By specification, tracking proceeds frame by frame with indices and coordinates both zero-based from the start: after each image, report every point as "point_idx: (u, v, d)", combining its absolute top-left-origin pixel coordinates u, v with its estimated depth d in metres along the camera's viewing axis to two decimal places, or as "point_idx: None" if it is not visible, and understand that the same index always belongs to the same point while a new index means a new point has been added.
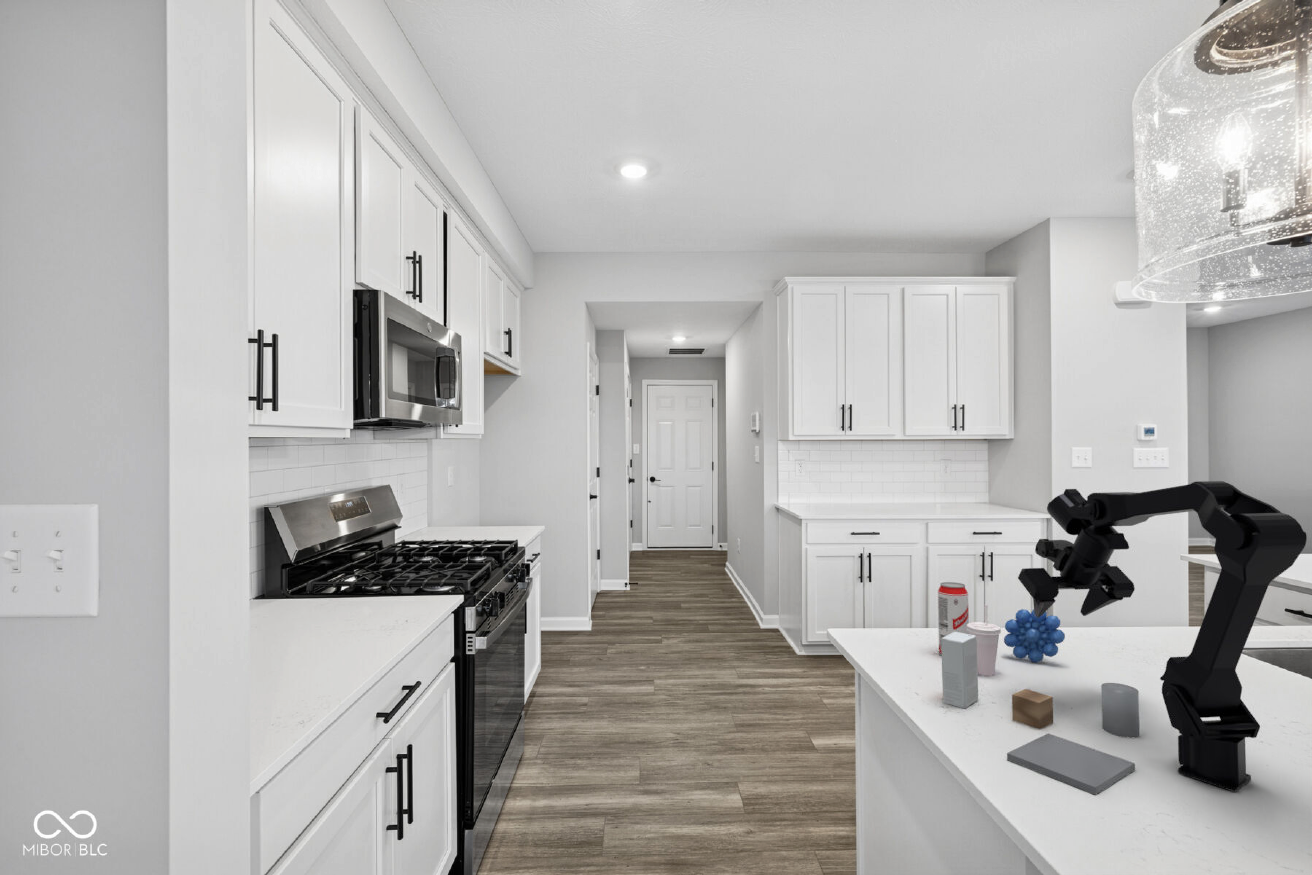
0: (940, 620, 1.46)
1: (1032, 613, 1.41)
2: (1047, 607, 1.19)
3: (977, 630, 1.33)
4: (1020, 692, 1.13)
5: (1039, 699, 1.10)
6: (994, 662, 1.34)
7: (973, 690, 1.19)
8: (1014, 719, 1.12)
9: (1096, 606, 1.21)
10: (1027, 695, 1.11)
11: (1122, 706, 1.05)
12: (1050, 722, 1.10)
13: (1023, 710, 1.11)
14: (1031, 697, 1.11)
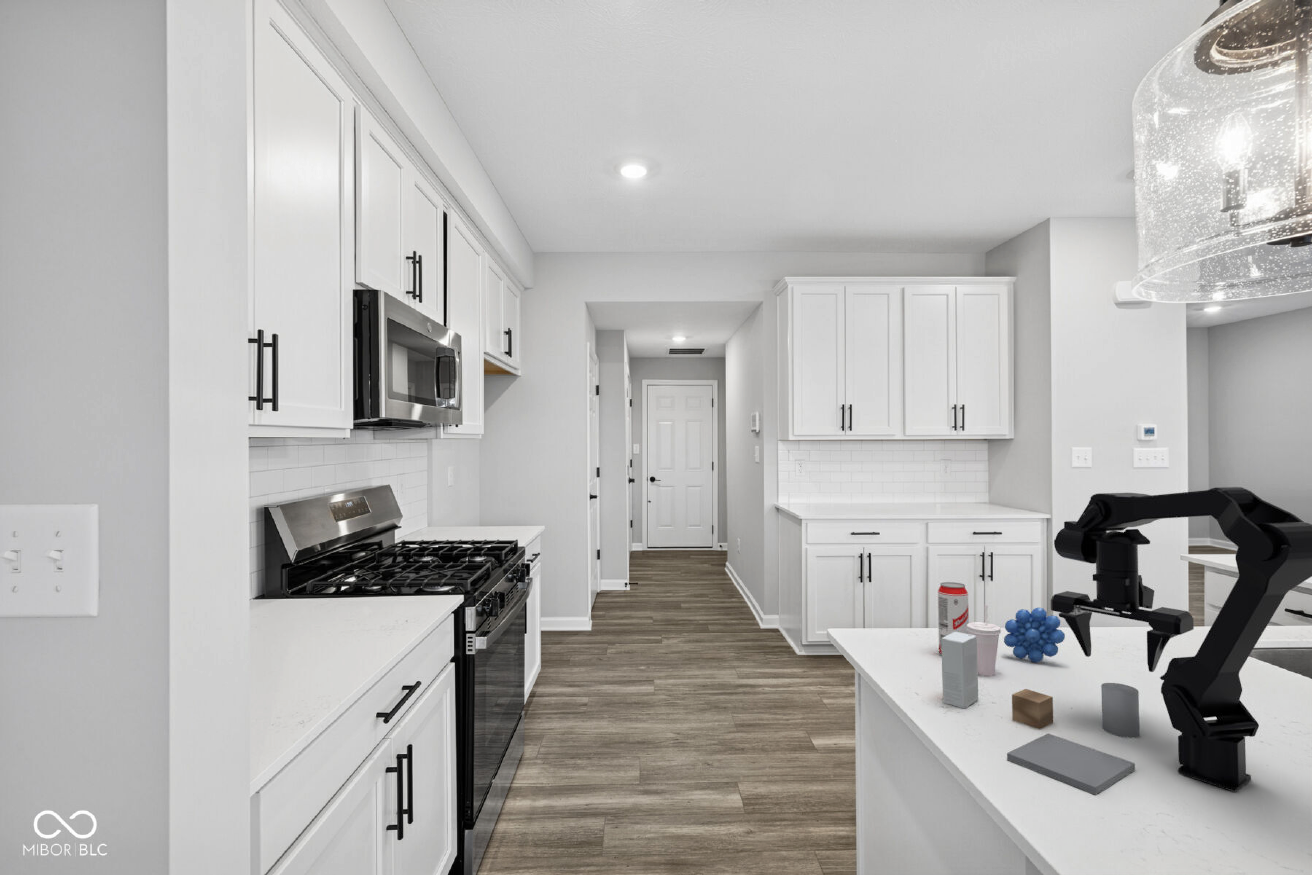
0: (940, 620, 1.46)
1: (1032, 613, 1.41)
2: (1077, 631, 1.11)
3: (977, 630, 1.33)
4: (1020, 692, 1.13)
5: (1039, 699, 1.10)
6: (994, 662, 1.34)
7: (973, 690, 1.19)
8: (1014, 719, 1.12)
9: None
10: (1027, 695, 1.11)
11: (1122, 707, 1.05)
12: (1050, 722, 1.10)
13: (1023, 710, 1.11)
14: (1031, 697, 1.11)
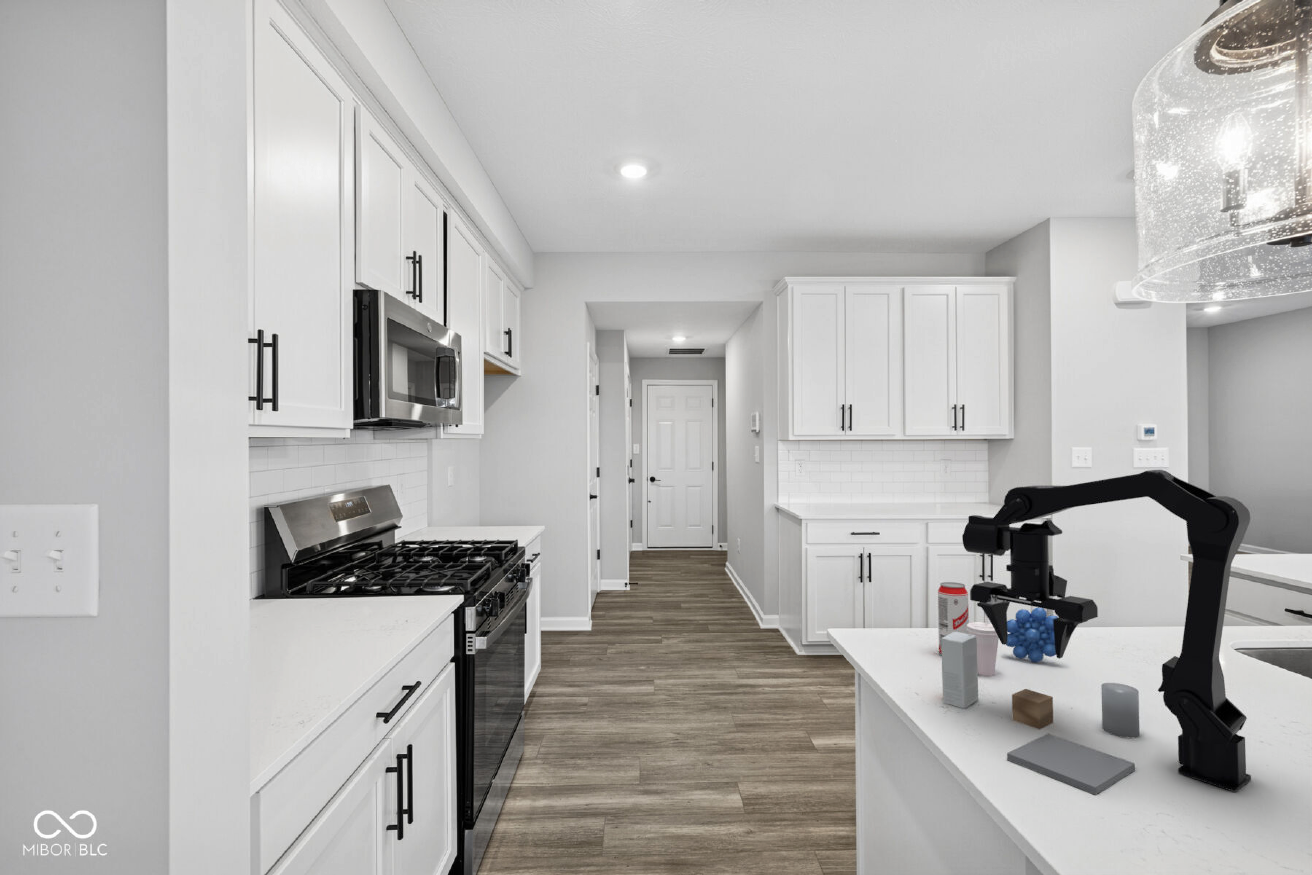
0: (940, 620, 1.46)
1: (1032, 613, 1.41)
2: (993, 620, 1.15)
3: (977, 630, 1.33)
4: (1020, 692, 1.13)
5: (1039, 699, 1.10)
6: (994, 662, 1.34)
7: (973, 690, 1.19)
8: (1014, 719, 1.12)
9: None
10: (1027, 695, 1.11)
11: (1122, 707, 1.05)
12: (1050, 722, 1.10)
13: (1023, 710, 1.11)
14: (1031, 697, 1.11)
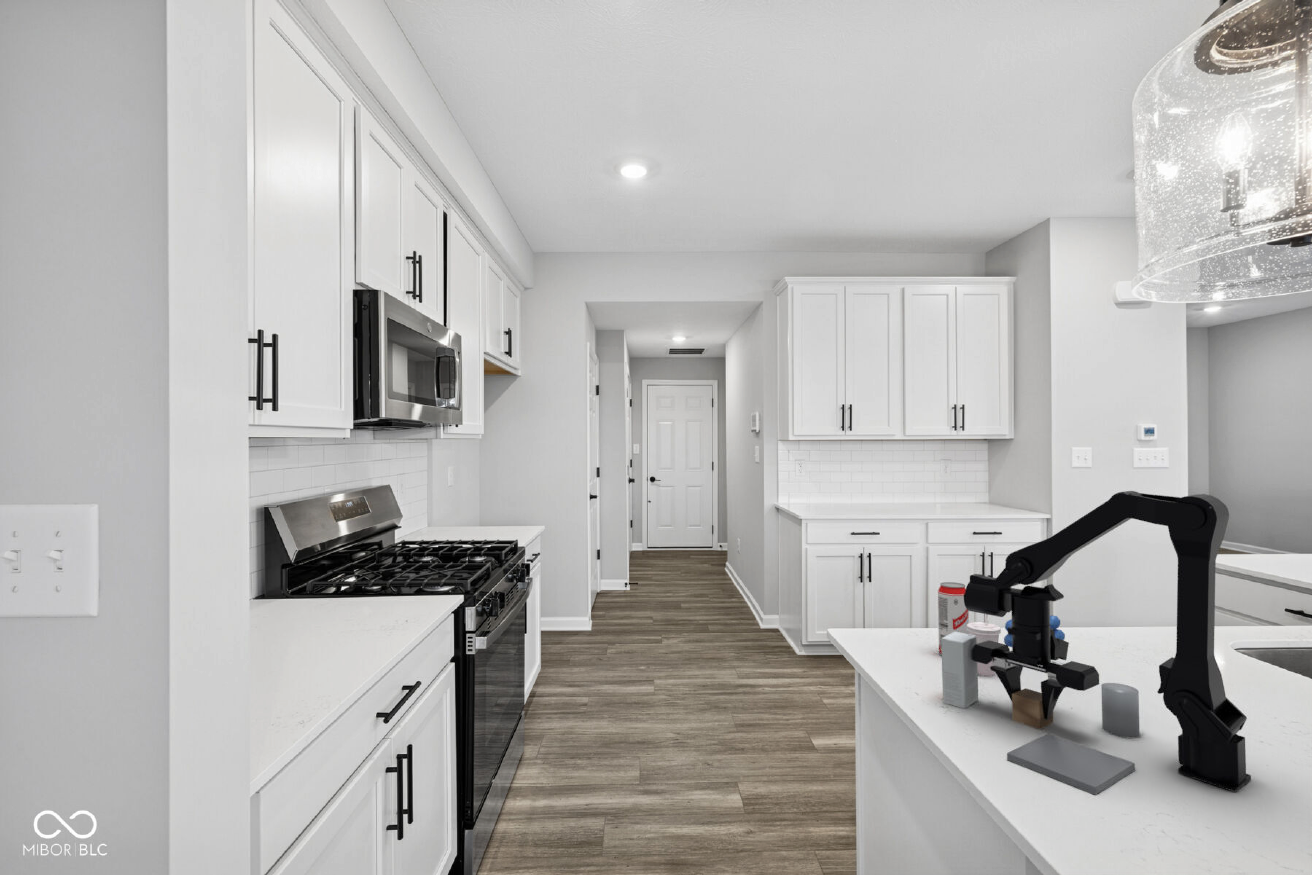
0: (940, 620, 1.46)
1: None
2: (1007, 685, 1.13)
3: (977, 630, 1.33)
4: (1020, 691, 1.13)
5: (1039, 698, 1.10)
6: None
7: (973, 690, 1.19)
8: (1014, 719, 1.12)
9: None
10: (1027, 695, 1.11)
11: (1122, 706, 1.05)
12: (1050, 721, 1.10)
13: (1023, 709, 1.11)
14: (1031, 697, 1.11)
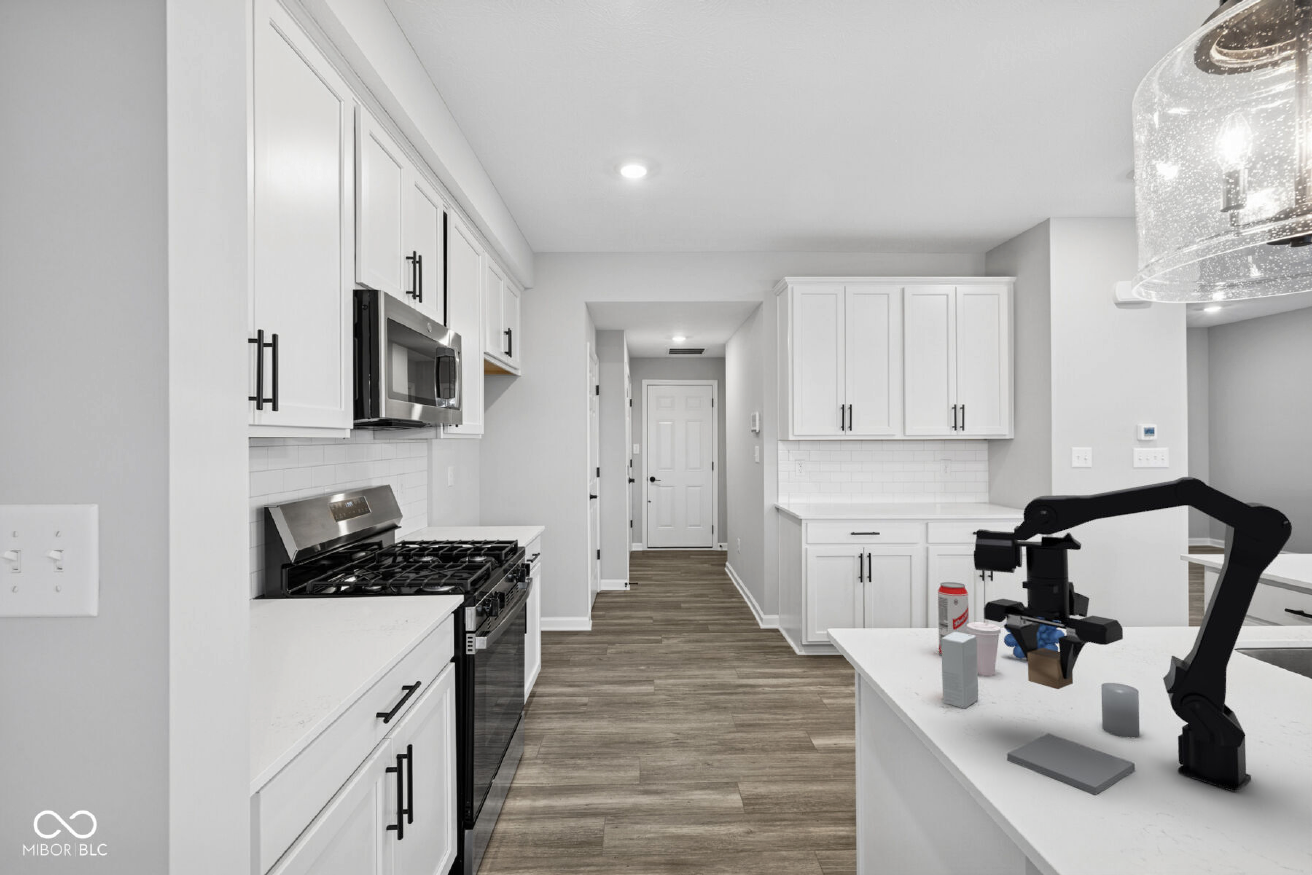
0: (940, 620, 1.46)
1: None
2: (1022, 644, 1.05)
3: (977, 630, 1.33)
4: (1036, 650, 1.05)
5: (1057, 656, 1.02)
6: (994, 662, 1.34)
7: (973, 690, 1.19)
8: (1030, 679, 1.04)
9: None
10: (1044, 653, 1.04)
11: (1122, 707, 1.05)
12: (1069, 682, 1.02)
13: (1040, 668, 1.03)
14: (1048, 655, 1.03)
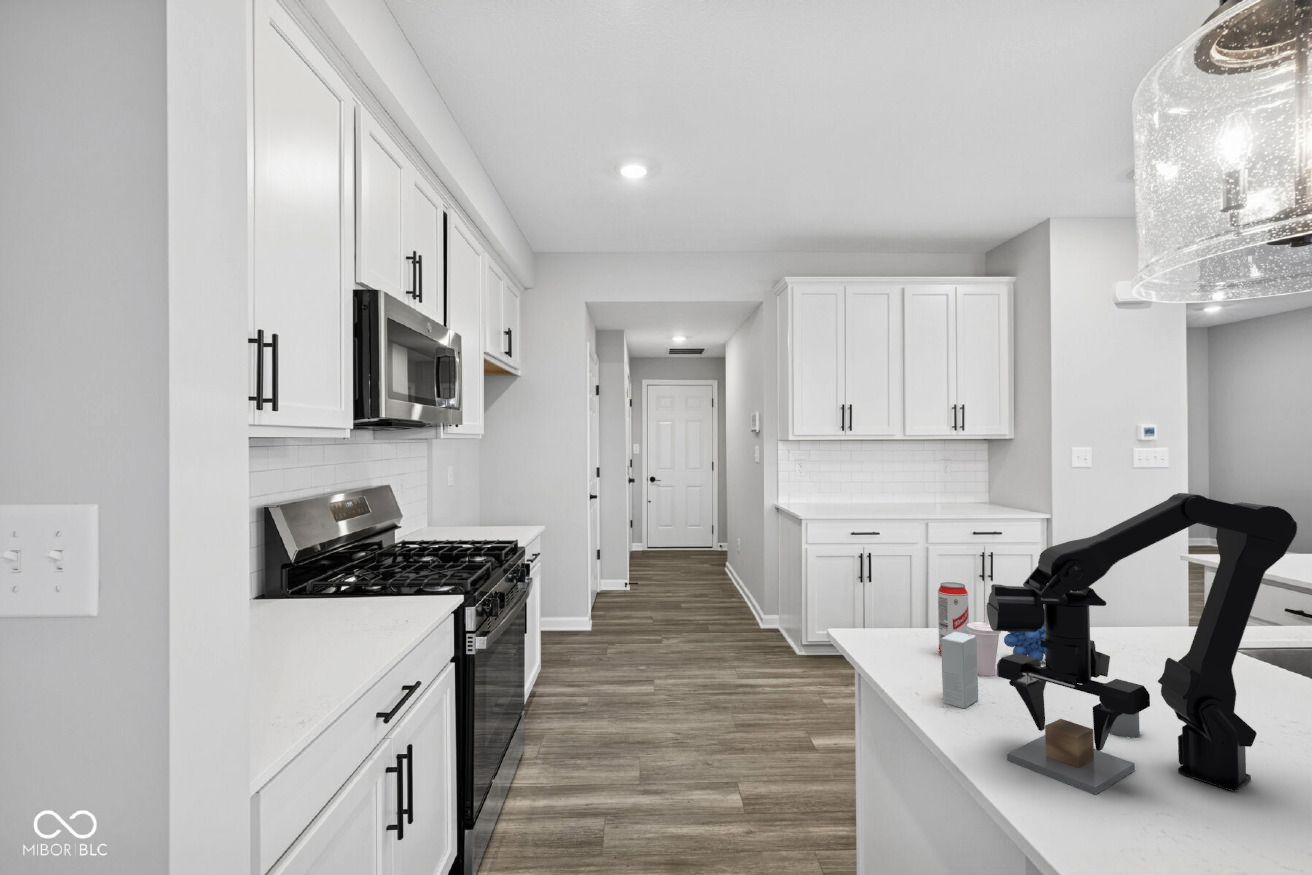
0: (940, 620, 1.46)
1: None
2: (1029, 702, 0.99)
3: (977, 630, 1.33)
4: (1054, 723, 0.98)
5: (1078, 732, 0.95)
6: (994, 662, 1.34)
7: (973, 690, 1.19)
8: (1048, 754, 0.97)
9: None
10: (1063, 727, 0.96)
11: None
12: (1090, 759, 0.95)
13: (1059, 744, 0.95)
14: (1067, 729, 0.95)
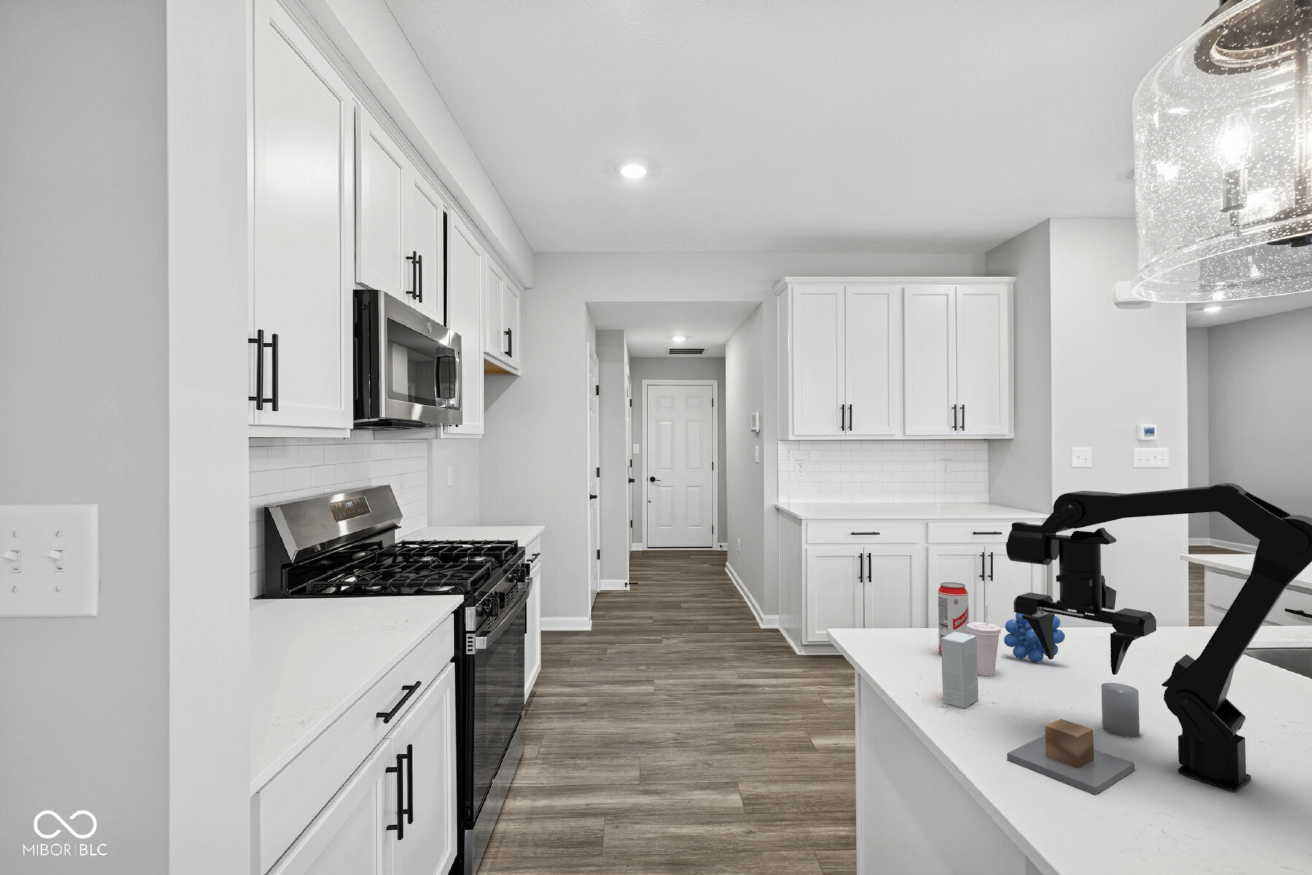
0: (940, 620, 1.46)
1: None
2: (1040, 634, 1.08)
3: (977, 630, 1.33)
4: (1054, 723, 0.98)
5: (1078, 732, 0.95)
6: (994, 662, 1.34)
7: (973, 690, 1.19)
8: (1048, 754, 0.97)
9: None
10: (1063, 727, 0.96)
11: (1122, 706, 1.05)
12: (1090, 759, 0.95)
13: (1059, 744, 0.95)
14: (1067, 729, 0.95)
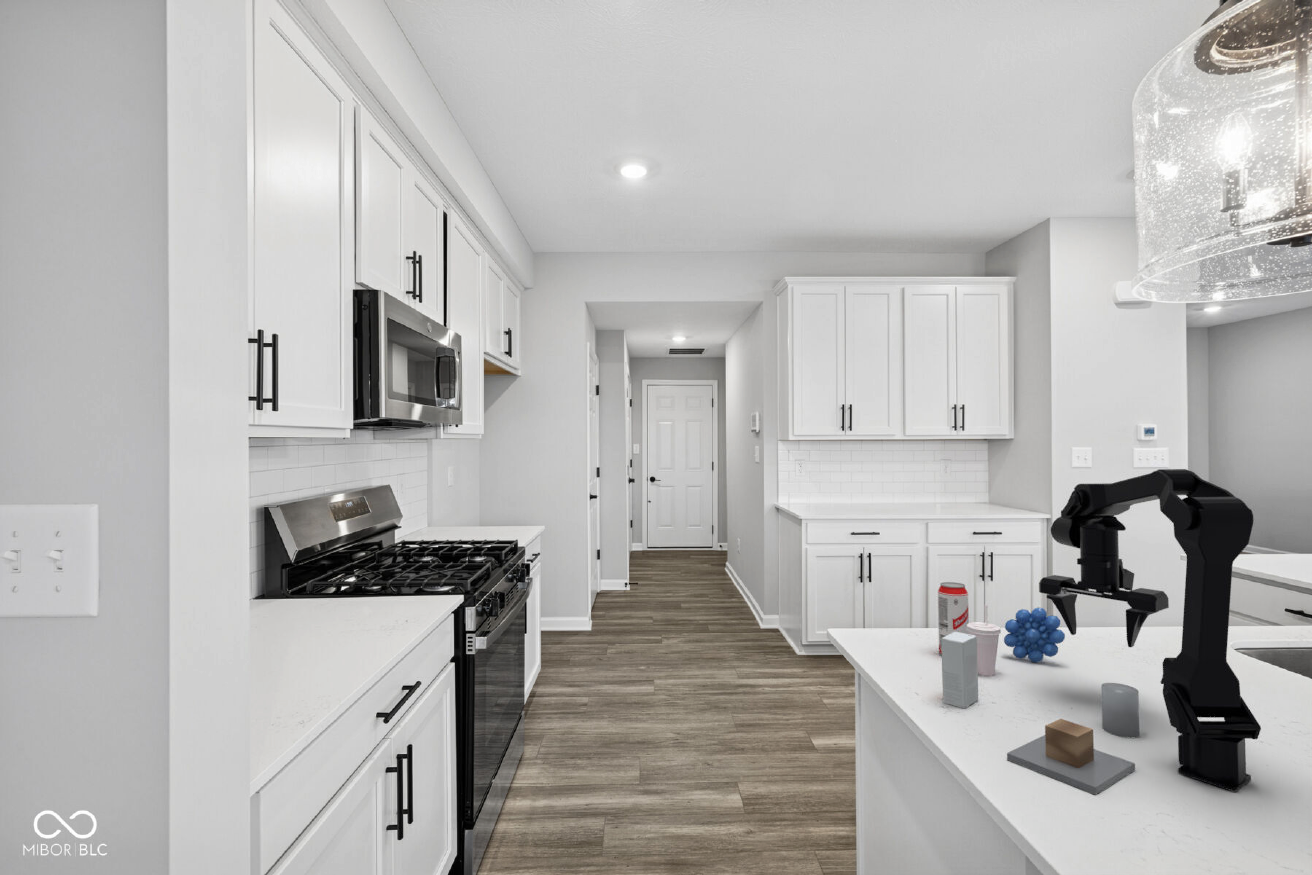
0: (940, 620, 1.46)
1: (1032, 613, 1.41)
2: (1063, 611, 1.20)
3: (977, 630, 1.33)
4: (1054, 723, 0.98)
5: (1078, 732, 0.95)
6: (994, 662, 1.34)
7: (973, 690, 1.19)
8: (1048, 754, 0.97)
9: None
10: (1063, 727, 0.96)
11: (1122, 706, 1.05)
12: (1090, 759, 0.95)
13: (1059, 744, 0.95)
14: (1067, 729, 0.95)
